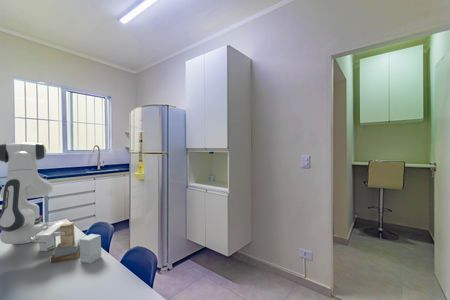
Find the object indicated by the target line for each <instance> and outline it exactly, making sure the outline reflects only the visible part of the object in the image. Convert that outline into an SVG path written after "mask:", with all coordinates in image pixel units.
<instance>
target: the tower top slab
mask: <svg viewBox="0 0 450 300" xmlns="http://www.w3.org/2000/svg"><path fill="white" fill-rule="evenodd" d="M79 245H80V240H79V239H75V242H74V243H73V245H72V246H68V247H61V242H59V243H58V244H56V247H55V249H54V251H53V253H54V254H53V255H54V257H58V256H63V255H68V254H73V253H77V251H78V248H79Z"/></svg>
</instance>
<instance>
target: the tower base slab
mask: <svg viewBox="0 0 450 300" xmlns="http://www.w3.org/2000/svg"><path fill="white" fill-rule="evenodd" d="M78 258H80V244H79V248H78V251H77V253H73V254H68V255H63V256H58V257H54V254H53V255H52V256H51V257H50V264H54V263H62V262H69V261H73V260H74V261H75V260H77V259H78Z"/></svg>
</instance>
